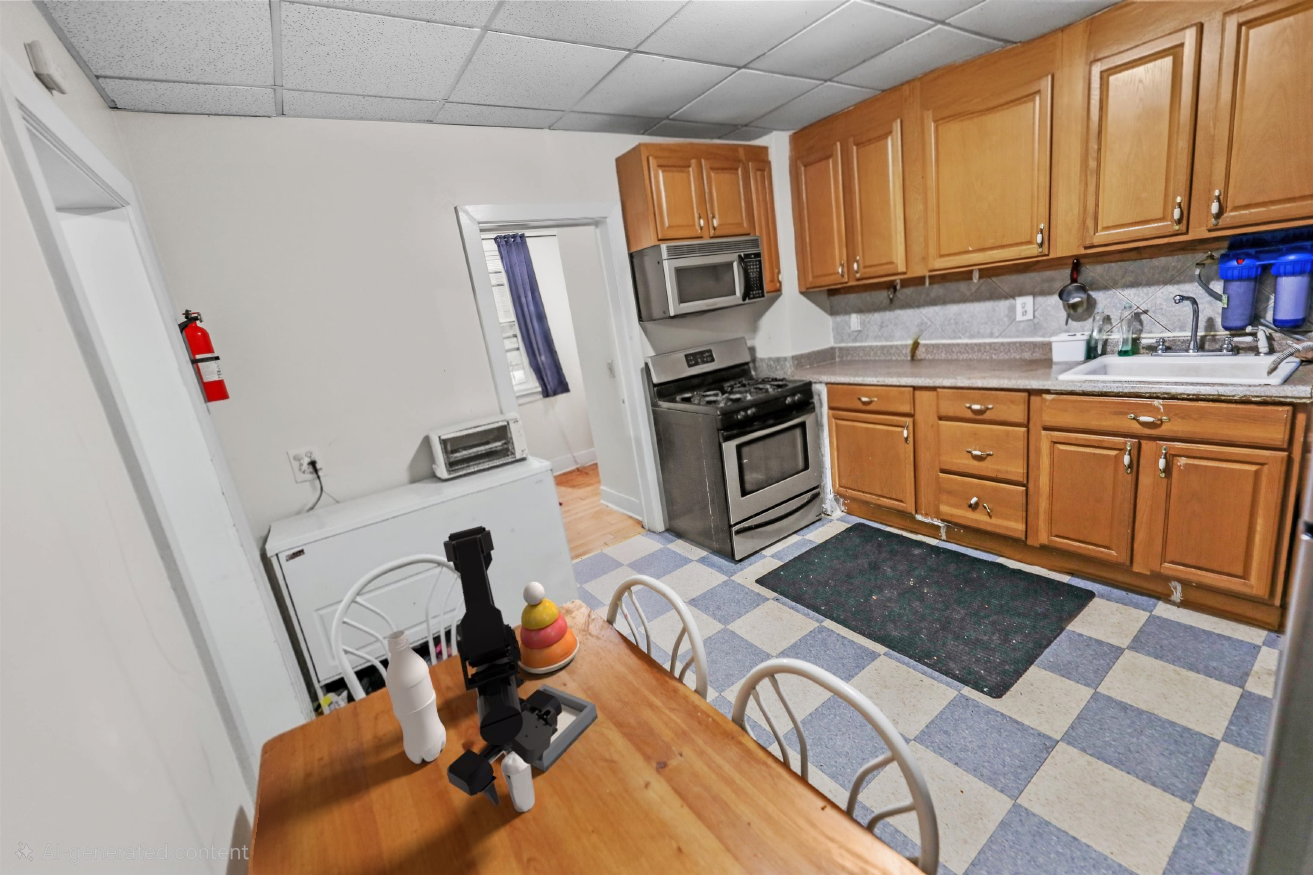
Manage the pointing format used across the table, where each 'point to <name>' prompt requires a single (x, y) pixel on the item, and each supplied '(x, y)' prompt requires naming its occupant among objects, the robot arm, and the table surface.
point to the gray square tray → (566, 725)
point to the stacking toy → (544, 634)
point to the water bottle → (413, 700)
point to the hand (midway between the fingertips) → (518, 781)
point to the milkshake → (518, 781)
